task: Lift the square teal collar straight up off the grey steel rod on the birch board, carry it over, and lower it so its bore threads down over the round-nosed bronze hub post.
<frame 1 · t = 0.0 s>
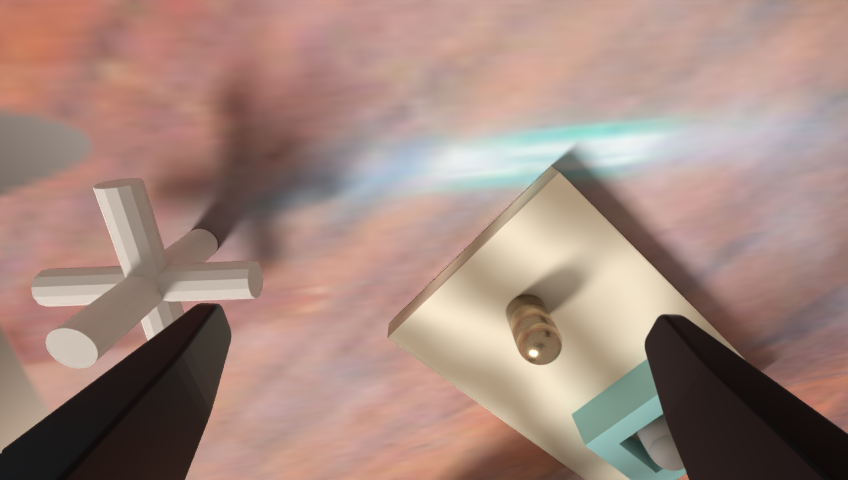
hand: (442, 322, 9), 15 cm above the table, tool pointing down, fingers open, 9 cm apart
pipe connector: (203, 241, 25), on the table
birch stand board: (579, 349, 28), on the table
teal collar: (643, 410, 28), point 1 cm above the table, touching birch stand board
bronze hub post: (525, 311, 25), resting on birch stand board
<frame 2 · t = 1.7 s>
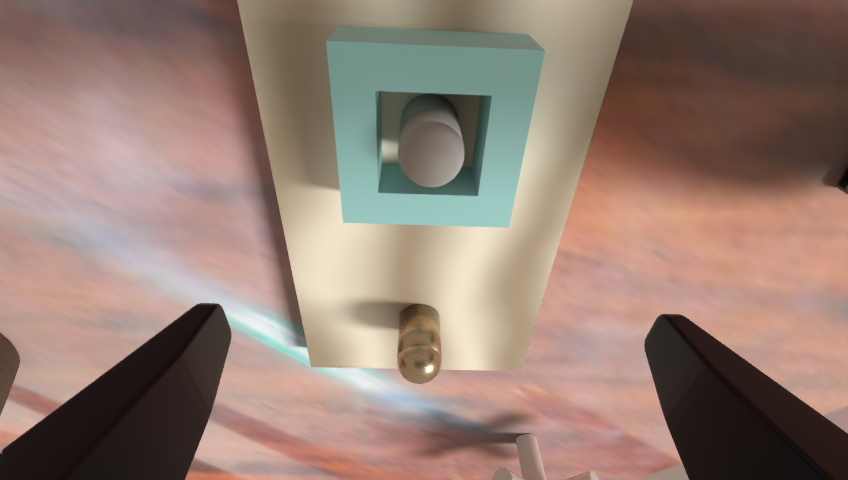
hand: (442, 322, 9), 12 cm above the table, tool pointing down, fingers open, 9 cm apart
pipe connector: (525, 436, 36), on the table
birch stand board: (423, 220, 22), on the table
teal collar: (429, 122, 17), point 1 cm above the table, touching birch stand board
bronze hub post: (419, 317, 24), resting on birch stand board
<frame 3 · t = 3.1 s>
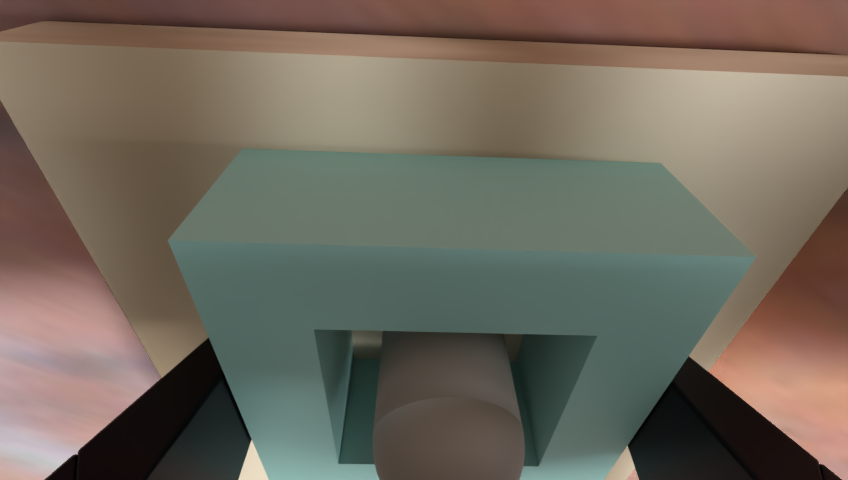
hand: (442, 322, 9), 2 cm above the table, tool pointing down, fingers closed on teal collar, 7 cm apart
birch stand board: (427, 396, 14), on the table
teal collar: (440, 303, 9), point 1 cm above the table, touching birch stand board, gripper
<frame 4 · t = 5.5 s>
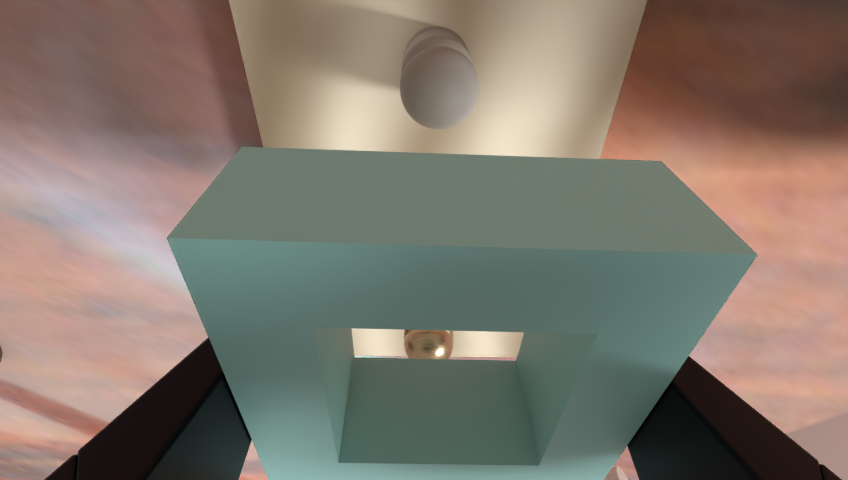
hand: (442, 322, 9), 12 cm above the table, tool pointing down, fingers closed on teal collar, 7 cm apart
birch stand board: (430, 186, 20), on the table
teal collar: (440, 302, 9), point 11 cm above the table, touching gripper
bronze hub post: (427, 298, 22), resting on birch stand board
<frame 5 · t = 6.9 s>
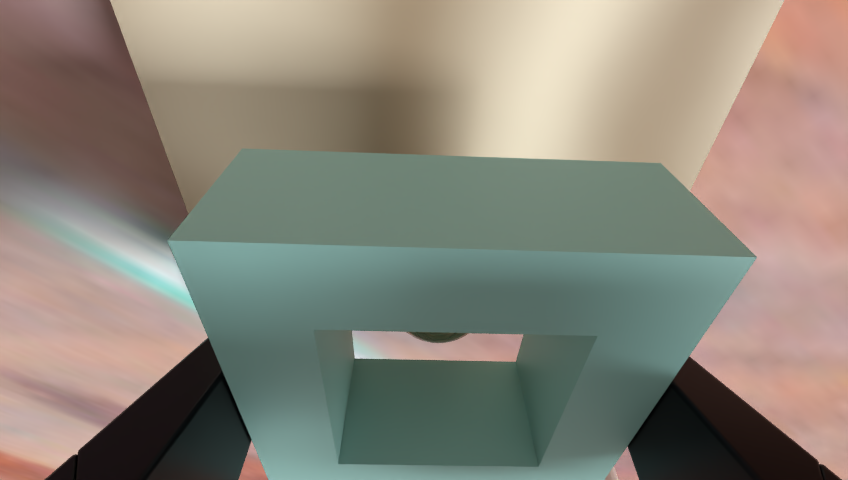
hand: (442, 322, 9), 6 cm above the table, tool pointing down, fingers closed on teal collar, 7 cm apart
teal collar: (440, 303, 9), point 5 cm above the table, touching gripper
bronze hub post: (434, 215, 12), resting on birch stand board
when the fingers open (3 cm above the table, at t = 7.9 s): teal collar stays where it is, resting on birch stand board.
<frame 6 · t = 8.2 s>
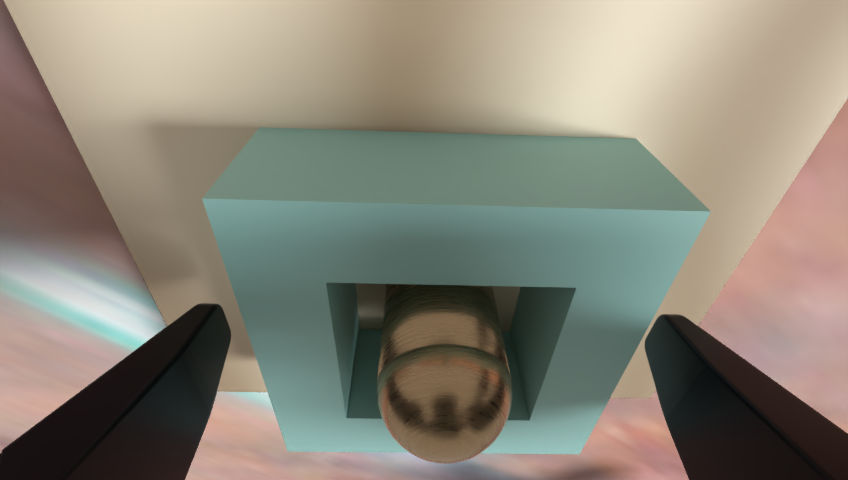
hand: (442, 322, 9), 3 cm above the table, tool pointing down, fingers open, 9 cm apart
teal collar: (439, 273, 10), point 1 cm above the table, touching birch stand board
bronze hub post: (438, 274, 10), resting on birch stand board
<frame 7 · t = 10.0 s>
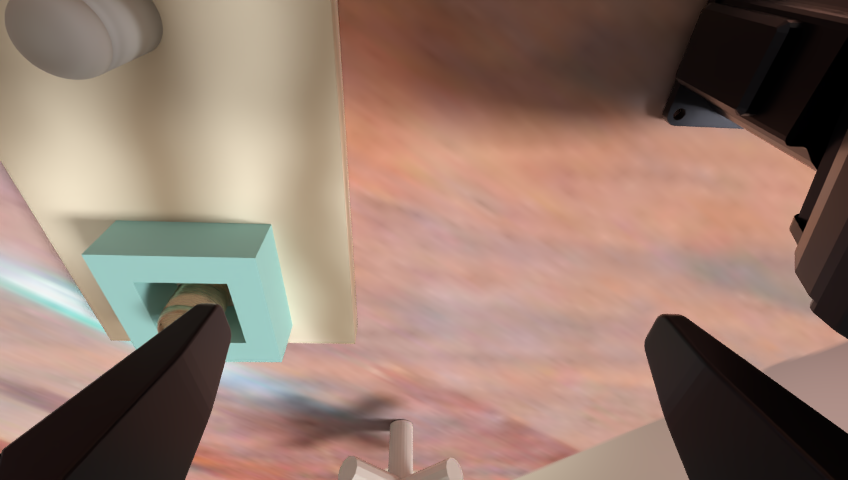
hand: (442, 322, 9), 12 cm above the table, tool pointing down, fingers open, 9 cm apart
pipe connector: (401, 423, 33), on the table
birch stand board: (192, 158, 19), on the table
teal collar: (213, 278, 21), point 1 cm above the table, touching birch stand board
bronze hub post: (213, 278, 21), resting on birch stand board
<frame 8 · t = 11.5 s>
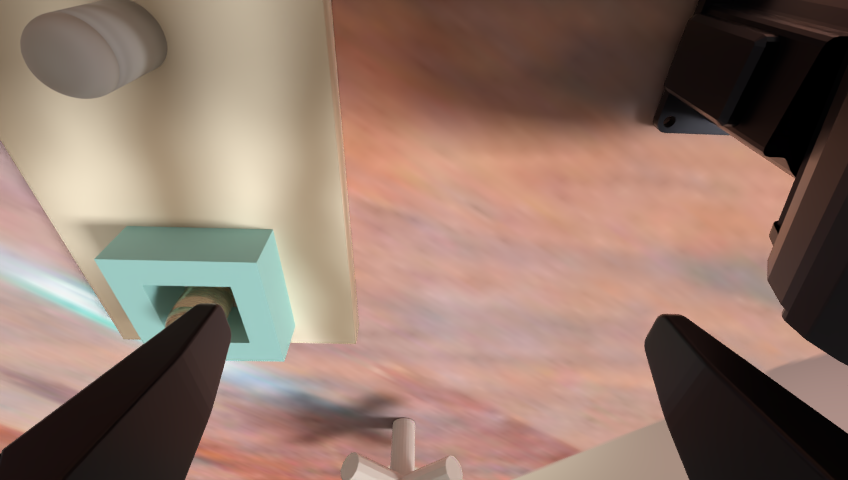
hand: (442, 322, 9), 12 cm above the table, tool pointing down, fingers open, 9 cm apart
pipe connector: (403, 421, 34), on the table
birch stand board: (198, 167, 20), on the table
teal collar: (219, 280, 22), point 1 cm above the table, touching birch stand board
bronze hub post: (219, 281, 22), resting on birch stand board
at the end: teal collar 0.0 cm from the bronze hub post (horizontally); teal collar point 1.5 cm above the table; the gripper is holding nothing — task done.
